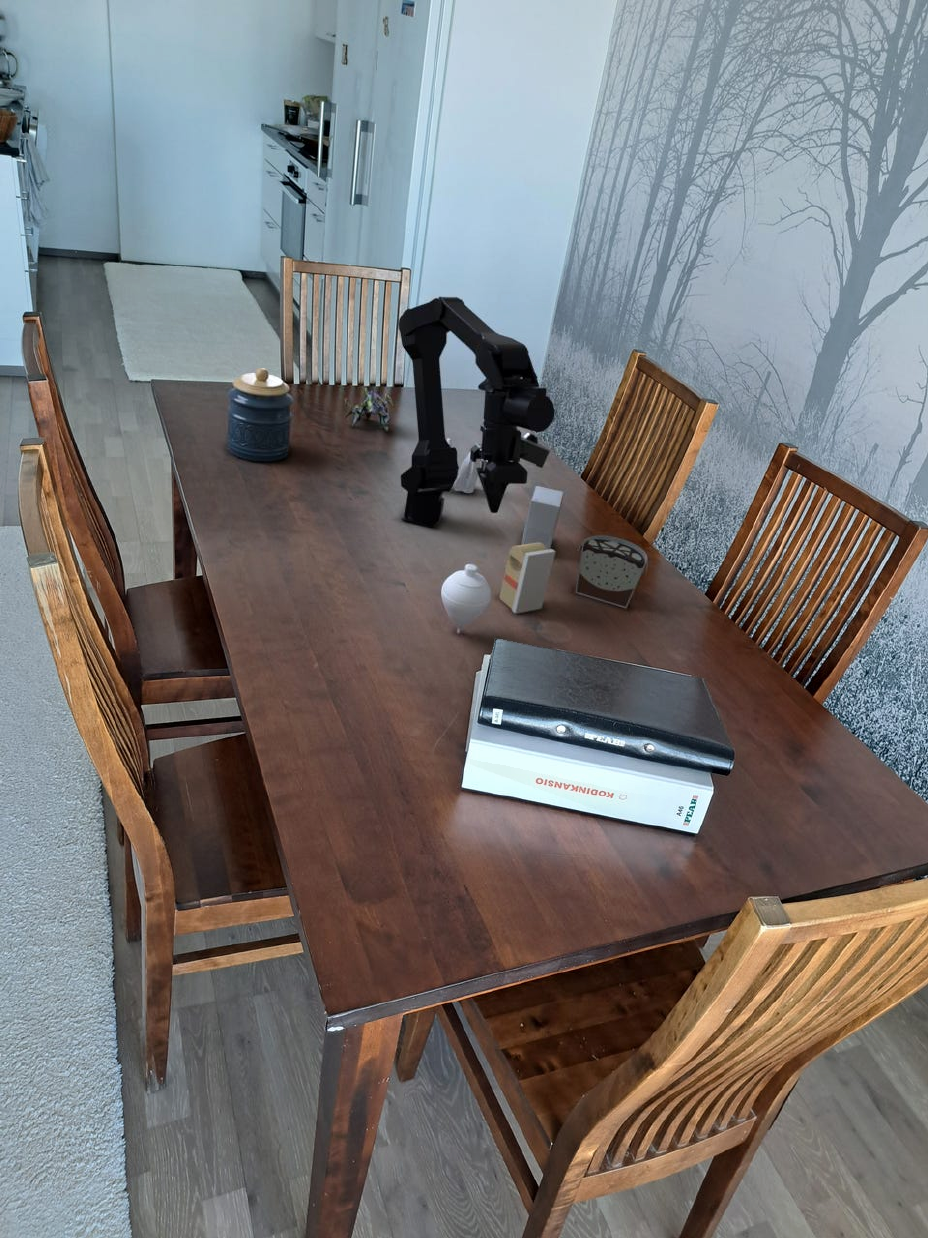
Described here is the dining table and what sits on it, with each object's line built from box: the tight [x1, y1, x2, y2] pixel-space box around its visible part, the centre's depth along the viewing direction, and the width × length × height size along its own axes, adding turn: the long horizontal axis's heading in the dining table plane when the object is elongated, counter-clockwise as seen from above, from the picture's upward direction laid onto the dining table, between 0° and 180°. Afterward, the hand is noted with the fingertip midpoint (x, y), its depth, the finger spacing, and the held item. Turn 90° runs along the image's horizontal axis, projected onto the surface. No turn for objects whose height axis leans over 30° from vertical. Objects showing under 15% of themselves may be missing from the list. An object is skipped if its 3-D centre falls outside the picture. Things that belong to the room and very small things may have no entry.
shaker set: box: [446, 438, 481, 494], centre depth 187 cm, size 12×4×11 cm, turn 104°
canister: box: [226, 367, 294, 463], centre depth 186 cm, size 13×13×18 cm
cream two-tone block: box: [499, 542, 556, 615], centre depth 151 cm, size 6×6×11 cm
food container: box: [574, 535, 649, 610], centre depth 159 cm, size 12×6×10 cm, turn 71°
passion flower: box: [343, 387, 396, 432], centre depth 212 cm, size 11×11×12 cm
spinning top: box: [440, 563, 492, 634], centre depth 139 cm, size 8×8×12 cm
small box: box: [520, 485, 565, 550], centre depth 171 cm, size 8×6×10 cm
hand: (493, 512), depth 156 cm, fingers closed
